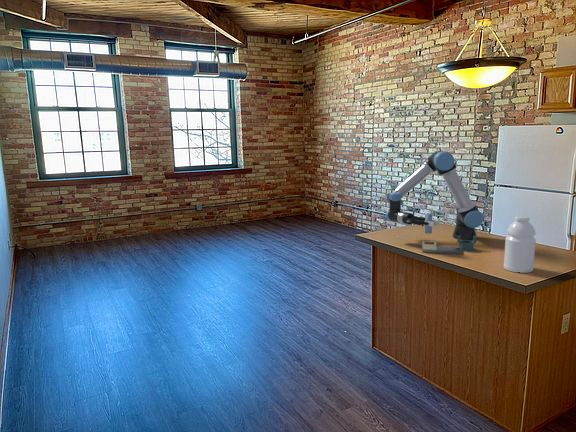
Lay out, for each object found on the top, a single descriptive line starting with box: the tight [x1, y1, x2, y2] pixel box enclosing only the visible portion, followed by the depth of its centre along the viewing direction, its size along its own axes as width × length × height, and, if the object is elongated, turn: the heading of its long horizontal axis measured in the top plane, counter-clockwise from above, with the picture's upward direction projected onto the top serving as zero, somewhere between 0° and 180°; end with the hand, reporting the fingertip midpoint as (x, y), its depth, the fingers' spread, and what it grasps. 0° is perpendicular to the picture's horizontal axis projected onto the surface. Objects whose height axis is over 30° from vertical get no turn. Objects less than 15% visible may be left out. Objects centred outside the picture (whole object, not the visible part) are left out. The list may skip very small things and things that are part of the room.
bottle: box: [503, 215, 537, 274], centre depth 219 cm, size 14×14×28 cm
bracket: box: [456, 236, 477, 252], centre depth 260 cm, size 9×9×9 cm
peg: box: [424, 212, 433, 235], centre depth 257 cm, size 4×4×12 cm
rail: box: [421, 240, 462, 255], centre depth 257 cm, size 22×8×5 cm, turn 73°
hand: (435, 223), depth 252 cm, fingers closed on peg, 4 cm apart
